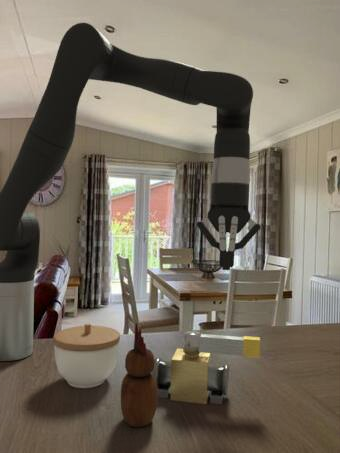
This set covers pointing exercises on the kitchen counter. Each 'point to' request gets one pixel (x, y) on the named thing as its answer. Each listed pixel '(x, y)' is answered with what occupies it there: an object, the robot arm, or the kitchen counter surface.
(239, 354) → the lever
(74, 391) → the kitchen counter surface
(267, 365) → the kitchen counter surface
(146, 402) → the wooden figurine
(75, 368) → the lidded bowl
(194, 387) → the ball valve
